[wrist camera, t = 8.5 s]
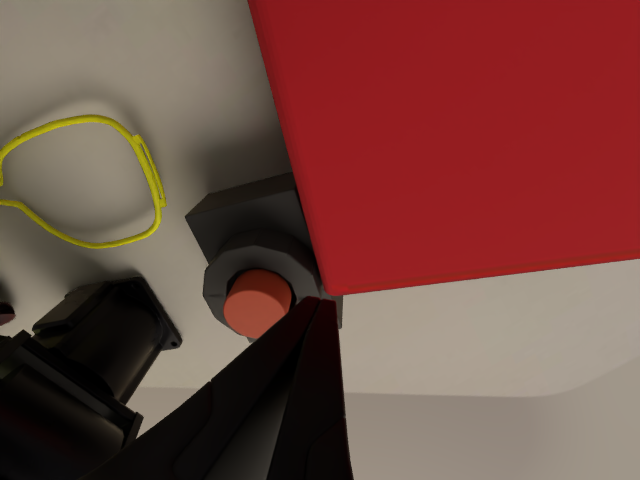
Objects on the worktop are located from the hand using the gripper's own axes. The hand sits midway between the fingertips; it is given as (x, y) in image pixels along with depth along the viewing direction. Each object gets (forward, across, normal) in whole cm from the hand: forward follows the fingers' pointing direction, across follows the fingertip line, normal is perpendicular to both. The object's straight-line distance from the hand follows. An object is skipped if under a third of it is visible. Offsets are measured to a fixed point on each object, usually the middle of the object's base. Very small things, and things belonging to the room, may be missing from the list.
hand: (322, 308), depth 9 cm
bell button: (+5, +5, +5) cm, 8 cm away
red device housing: (+13, -4, -3) cm, 14 cm away
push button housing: (+9, +6, +6) cm, 12 cm away
